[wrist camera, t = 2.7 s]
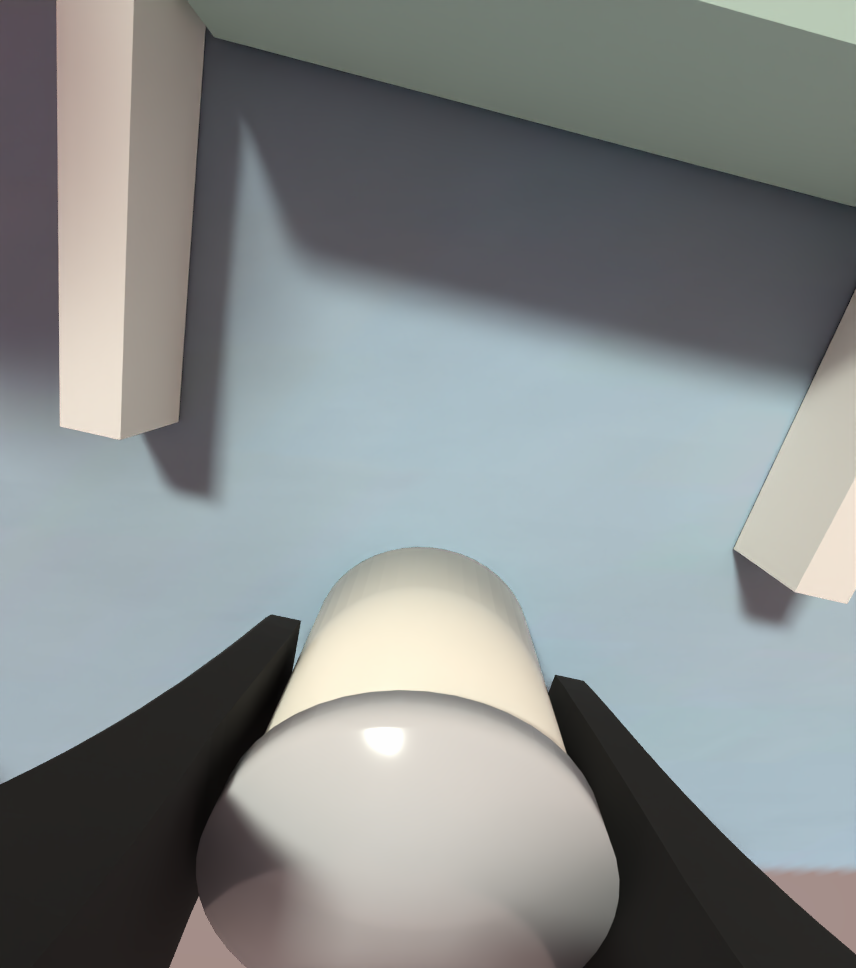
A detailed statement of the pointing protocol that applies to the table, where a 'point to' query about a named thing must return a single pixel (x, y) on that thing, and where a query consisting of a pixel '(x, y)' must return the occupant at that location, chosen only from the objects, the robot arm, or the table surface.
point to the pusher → (606, 70)
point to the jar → (411, 792)
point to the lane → (165, 269)
